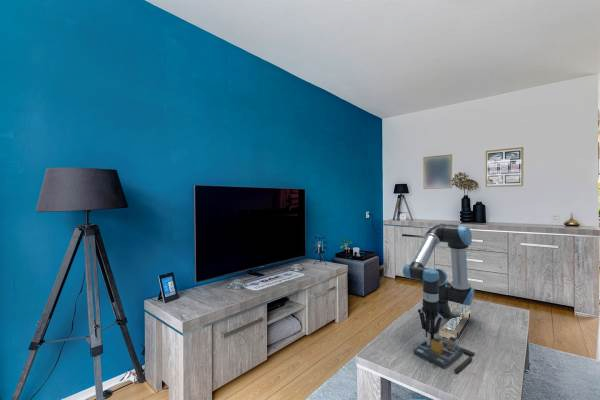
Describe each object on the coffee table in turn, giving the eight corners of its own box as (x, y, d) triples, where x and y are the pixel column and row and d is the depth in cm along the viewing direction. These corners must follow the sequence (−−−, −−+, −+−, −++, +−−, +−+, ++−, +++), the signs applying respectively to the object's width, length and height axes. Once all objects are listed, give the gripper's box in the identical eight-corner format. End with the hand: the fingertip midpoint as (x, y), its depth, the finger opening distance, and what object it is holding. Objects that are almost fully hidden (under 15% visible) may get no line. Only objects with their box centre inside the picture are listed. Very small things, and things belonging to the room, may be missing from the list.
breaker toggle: (435, 349, 145) (435, 336, 145) (442, 352, 142) (443, 339, 142) (431, 351, 143) (431, 339, 143) (439, 355, 140) (439, 342, 139)
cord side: (468, 359, 140) (468, 356, 140) (472, 360, 139) (472, 357, 138) (453, 372, 130) (453, 369, 130) (457, 374, 128) (457, 370, 128)
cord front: (434, 338, 160) (434, 335, 160) (474, 354, 144) (474, 351, 143) (431, 339, 158) (431, 337, 158) (472, 357, 141) (472, 354, 141)
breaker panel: (431, 341, 156) (432, 326, 156) (462, 354, 144) (462, 338, 143) (413, 353, 145) (413, 337, 145) (444, 369, 132) (445, 351, 132)
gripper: (414, 297, 148) (414, 341, 148) (439, 305, 137) (438, 352, 138) (422, 294, 152) (421, 336, 153) (446, 302, 142) (445, 347, 142)
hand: (429, 344), depth 145 cm, fingers closed
